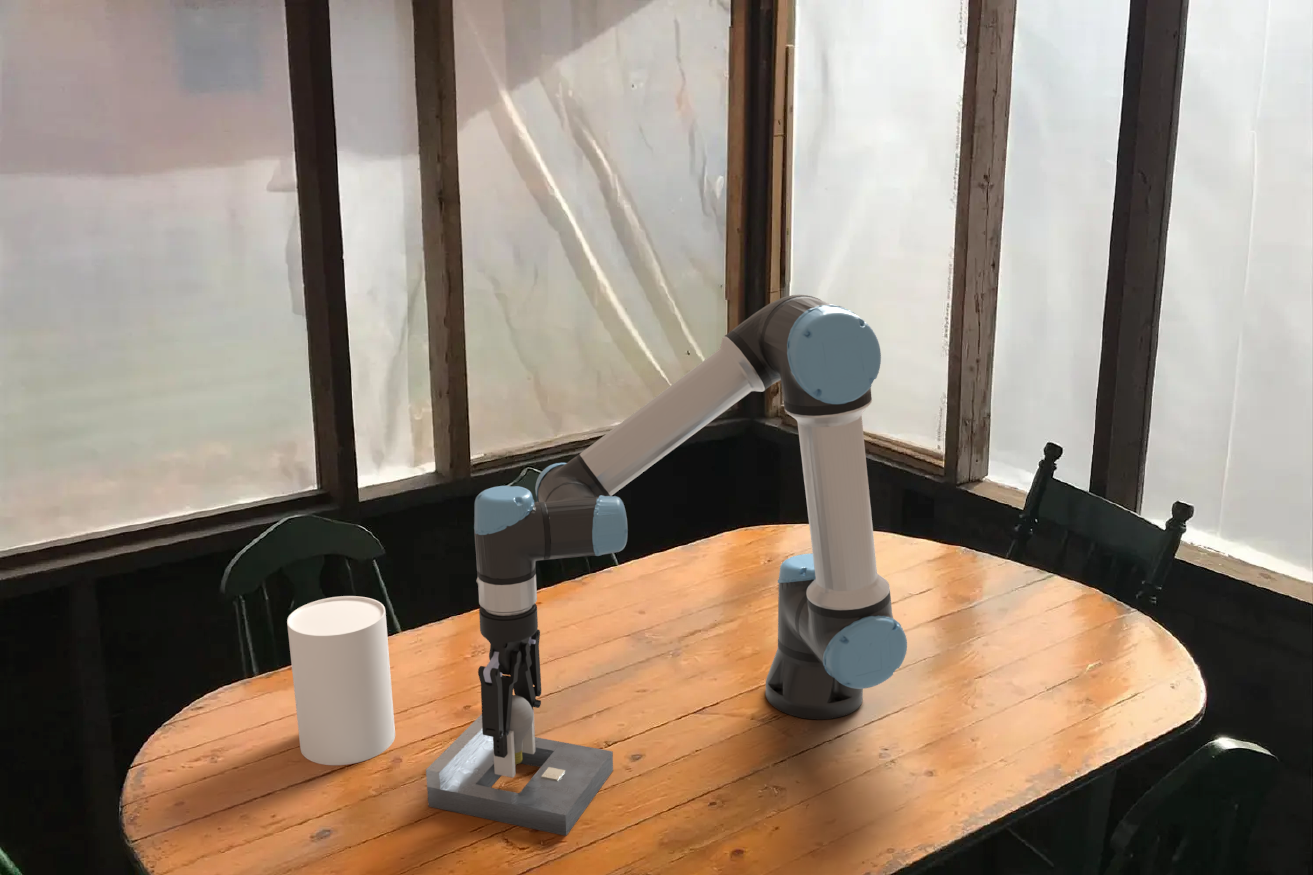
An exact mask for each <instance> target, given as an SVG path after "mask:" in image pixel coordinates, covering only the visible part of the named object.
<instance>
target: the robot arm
mask: <svg viewBox="0 0 1313 875" xmlns="http://www.w3.org/2000/svg"><path fill="white" fill-rule="evenodd" d="M881 353H882V352H881V346H880V343H879V339H878V337H877V335H876V333H875V332H874V330H873V329H872V327H871V326H870V325H869V324H868V322H866V321H865V319H862V318H861V317H860V316H859V315H858V314H856V313H855V312H854V311H852V310H850V309H848V308H846V307H844V306H841V305H837V304H831V303H829V302H826V301H823V300H821V298H817V297H814V296H812V295H808V294H793V295H787V296H784V297H781V298H779V299H778V298H777V299H776V300H774V301H772V302H770V303H768V304H767V305H765V306H764V307H762V308H760V309H759V310H758V311H756V312H754V313H753V314H752V315H750V316H749V317H748V318H747V319H745V320H743V321H742V322H741V323H740V324H738V325H737V326H736V327H734V328H733V329H732V330H731V331H729V332H728V333H727V334H725V335H724V336H723V337H721V344H720V348H718V350H716V351H714V352H713V353H712V354H710V355H709V356H708V357H707V358H705V359H704V360H702V361H701V362H699V364H697V365H696V366H695V367H693V368H692V369H691V370H689V371H687V372H686V373H685V374H684V375H682V376H681V377H680V378H679V379H677V380H676V381H675V382H673V383H672V384H671V385H670V386H668V387H667V388H665V389H664V390H663V391H661V392H660V393H659V394H658V395H656V396H655V397H653V398H652V399H651V400H649V401H648V402H647V403H646V404H644V405H643V406H642V407H640V408H639V409H637V410H636V411H635V412H633V413H632V414H631V415H630V416H628V417H627V418H626V419H624V420H623V421H622V422H620V423H619V424H618V425H616V426H615V427H614V428H612V429H611V430H610V431H608V432H607V433H605V434H604V435H602V437H600V438H599V439H598V440H597V441H594V443H593V444H591V445H590V446H588V447H587V448H586V449H584V450H583V451H582V452H581V453H579V454H578V455H576V456H574V457H573V458H572V459H570V460H569V461H567V462H555V463H553V464H550V465H548V466H546V467H545V468H544V469H543V470H542V471H541V472H540V473H539V475H538V477H537V479H536V481H535V482H536V483H535V498H536V501H535V500H534V497H533V496H534V495H533V493H532V491H530V490H529V489H528V488H525V487H523V486H519V485H517V486H515V485H514V486H509V485H500V486H498V485H497V486H493V487H490V488H486V489H484V490H482V491H481V492H480V493H479V494H478V495H477V496H476V497H475V500H474V525H473V529H474V544H475V545H474V546H475V554H476V555H475V557H476V571H477V572H476V573H477V578H476V580H475V581H476V583H477V586H478V588H477V589H478V604H479V605H480V607H479V610H478V611H479V612H478V614H479V615H478V616H479V630H480V634H481V635H482V637H483V638H484V639H486V640H487V641H488V642H489V644H490V646H489V647H490V648H489V654H488V659H489V662H488V663H487V665H486V666H484V665H483V666H482V665H479V668H478V671H477V673H478V677H479V678H478V679H479V682H480V696H481V697H480V698H481V700H480V701H481V714H482V732H483V735H487V736H492V737H493V750H494V769H495V774H497V775H501V777H507V778H514V777H515V776H516V765H515V753H514V731H511V730H510V722H511V710H512V698H513V695H517V696H521V697H523V698H524V699H526V700H527V701H528V702H529V704H530V705H531V707H532V710H533V721H532V725H531V727H530V729H529V730H528V732H527V734H526V735H525V737H524V739H523V749H522V752H524V753H529V754H534V753H535V737H536V736H535V735H536V732H535V710H534V708H536V709H540V708H541V705H542V700H540V699H536V698H537V697H540V696H541V695H542V679H541V678H542V676H541V659H540V638H541V630H540V629H538V628H539V626H538V625H539V621H538V618H539V617H538V605H537V603H536V602H537V601H538V593H537V573H536V562H537V561H549V560H556V559H569V558H578V557H579V558H580V557H591V556H593V557H594V556H596V557H599V556H602V555H603V556H604V555H609V554H613V553H619V552H621V551H624V549H625V547H626V545H627V542H628V518H627V512H626V508H625V505H624V504H625V503H624V501H623V500H622V499H621V497H619V496H616V495H615V494H616V493H617V492H619V490H621V489H623V488H624V487H626V485H628V484H629V483H630V482H632V481H633V480H635V479H637V477H639V476H640V475H641V474H643V472H646V471H647V470H648V469H649V468H650V467H652V466H653V465H654V464H656V463H657V462H659V461H660V460H662V459H663V458H664V457H665V456H667V455H668V454H670V453H671V452H672V451H674V450H675V449H676V448H678V447H679V446H680V445H682V444H683V443H684V442H686V441H687V440H688V439H689V438H692V436H693V435H695V434H696V433H698V432H699V431H700V430H701V429H703V428H704V427H705V426H707V425H708V424H710V423H711V422H712V421H714V420H715V419H716V418H718V417H719V416H720V415H722V414H723V413H725V412H726V411H727V410H729V409H730V408H731V407H732V406H733V405H735V404H736V403H738V402H739V401H740V400H742V399H744V398H745V397H746V396H747V395H749V394H750V393H751V392H760V393H761V392H765V391H766V390H767V389H768V388H770V387H771V386H772V385H774V384H775V383H778V382H779V381H780V383H781V391H782V400H783V407H784V412H786V414H787V415H789V416H790V417H792V418H793V419H795V420H796V422H797V431H798V439H799V446H800V447H799V448H800V455H801V464H802V465H801V466H802V474H803V482H804V490H805V491H804V492H805V498H806V507H807V517H808V524H809V535H810V543H811V552H812V553H802V554H796V555H793V556H791V557H789V558H786V559H785V560H784V561H783V562H782V563H781V565H780V566H779V573H778V574H779V575H778V576H779V577H778V580H777V583H778V597H777V598H778V599H777V600H778V603H777V604H778V606H777V607H778V608H777V609H778V610H777V612H778V613H777V649H776V652H775V655H774V657H773V660H772V662H771V665H770V668H769V671H768V673H767V674H766V675H767V676H766V680H765V698H766V700H767V701H768V703H769V704H770V705H771V706H772V707H774V708H775V709H777V710H778V711H779V712H782V713H784V714H787V715H790V716H792V717H793V716H794V717H797V718H801V719H807V720H809V719H810V720H829V719H830V720H831V719H837V718H841V717H845V716H847V715H851V714H852V713H853V712H855V711H856V710H858V709H859V708H860V707H861V705H862V703H863V698H864V696H863V695H864V693H863V692H864V689H869V688H870V689H871V688H873V687H876V686H878V685H880V684H882V683H884V682H886V681H888V680H889V679H891V677H892V676H893V675H894V673H895V672H896V670H898V669H900V667H901V666H902V664H903V662H904V660H905V658H906V656H907V651H908V639H907V635H906V633H905V630H904V629H903V627H902V624H901V623H900V622H899V621H898V620H896V619H894V615H893V608H892V598H891V588H890V584H889V582H888V580H887V579H886V578H885V577H883V576H882V575H880V574H879V573H878V569H877V561H876V560H877V559H876V558H877V557H876V548H875V539H874V526H873V520H872V519H873V518H872V507H871V506H872V505H871V497H870V489H869V488H870V487H869V476H868V468H867V466H868V465H867V458H866V447H865V446H866V445H865V436H864V435H865V434H864V427H863V426H864V425H863V417H862V415H863V412H864V411H866V409H867V408H869V406H870V405H871V404H872V401H873V400H872V385H873V383H874V381H875V380H876V379H877V378H878V375H879V373H880V372H879V371H880V368H881V362H882V354H881ZM613 495H614V496H613Z"/></svg>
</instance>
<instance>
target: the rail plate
mask: <svg viewBox="0 0 1313 875" xmlns="http://www.w3.org/2000/svg"><path fill="white" fill-rule="evenodd" d="M613 753H614V752H613V751H612V750H608V749H602V748H596V747H591V746H585V745H581V744H575V743H569V742H564V741H557V740H553V739H547V738H542V737H538V736H535V753H534V754H529V753H524V752H522V758H523V759H522V761H521V762H520V763H519V764H521V765H528V766H533V767H538V768H539V769H538V770H537V771H536V773H535V774H533V776H532V777H531V778H530V780H529V781H528V782H527V783H526V784H525V786H523V788H522V789H521V790H520V791H519V792H514V791H510V790H505V789H504V790H503V789H500V788H494V787H493V785H494V784H495V783H496V782H497V781H498V780H499V779H500V778H501V777H502V775H497V774H495V769H494V750H493V737H492V736H487V735H483V732H482V713H481V714H480V715H479V716H478V717H477V718H476V719H475V720H474V721H473V722H472V723H471V724H470V725H469V726H468V727H467V728H466V729H465V730H464V731H463V732H462V733H461V734H460V735H459V736H458V737H457V738H456V739H455V740H454V741H453V742H452V743H451V744H450V745H449V746H447V748H446V749H445V750H444V751H443V752H442V753H441V754H440V755H439V756H438V757H437V758H436V759H435V760H434V761H433V762H432V763H431V764H430V765H429V766H428V767H426V769H425V776H426V790H427V792H426V793H427V801H428V802H427V804H428V807H430V808H435V809H439V810H442V811H443V810H444V811H448V812H449V811H450V812H453V813H457V814H463V815H466V816H472V817H477V818H479V819H480V818H481V819H484V820H485V819H486V820H490V821H495V822H499V823H504V824H509V825H515V826H518V827H523V828H527V829H533V830H538V831H542V832H547V833H551V834H556V835H561V836H565V837H566V836H568V835H569V833H570V832H571V830H572V829H573V827H574V826H575V825H576V824H577V822H578V820H579V819H580V818H581V816H582V814H584V812H585V810H586V809H587V808H588V806H589V805H590V804H591V802H592V801H593V800H594V798H595V796H596V795H597V794H598V792H599V791H600V789H601V788H602V787H603V786H604V784H605V782H606V781H607V780H608V778H609V777H610V775H611V774H612V773H613V772H614V756H613V755H614V754H613Z"/></svg>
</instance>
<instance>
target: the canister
mask: <svg viewBox="0 0 1313 875" xmlns="http://www.w3.org/2000/svg"><path fill="white" fill-rule="evenodd" d="M386 615H387V613H386V607H385V606H384V604H383V603H382V602H380V601H379V600H376V599H374V598H370V597H365V596H356V595H343V596H342V595H341V596H332V597H327V598H322V599H318V600H315V601H311V602H308V603H307V604H304V605H302V606H299V607H298V608H297V609H295V610H293V611H292V612H291V613H290V614H289V615H288V617H287V619H286V620H287V621H286V623H287V633H288V642H289V643H288V644H289V651H290V652H289V653H290V662H291V672H292V681H293V690H294V700H295V709H296V710H295V711H296V720H297V721H296V722H297V729H298V738H299V739H298V740H299V748H300V753H301V754H302V756H304V758H305V759H307V760H308V761H311V762H313V763H316V764H319V765H326V766H345V765H352V764H357V763H361V762H364V761H368V760H370V759H373V758H375V757H377V756H379V755H381V754H382V753H384V752H385V751H386V750H388V749H389V747H391V746H392V744H393V743H394V741H395V738H396V729H395V716H394V714H395V713H394V702H393V691H392V690H393V689H392V676H391V667H390V666H391V665H390V664H391V663H390V654H389V653H390V651H389V650H390V649H389V641H388V640H389V639H388V627H387V626H388V625H387V616H386Z"/></svg>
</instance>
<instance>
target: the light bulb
mask: <svg viewBox="0 0 1313 875" xmlns="http://www.w3.org/2000/svg"><path fill="white" fill-rule="evenodd" d="M532 721H533V710H532V707H531V705H530V704H529V702H528V701H527V700H526V699H524V698H523V697H521V696H517V695H515V694H513V698H512V710H511V722H510V730H511V731H514V753H515V766H516V765H518V764H521V763H520V762H521V761H522V759H523V758H522V749H523V739H524V737H525V735H526V734H527V732H528V730H529V729H530V727H531V725H532Z"/></svg>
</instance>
